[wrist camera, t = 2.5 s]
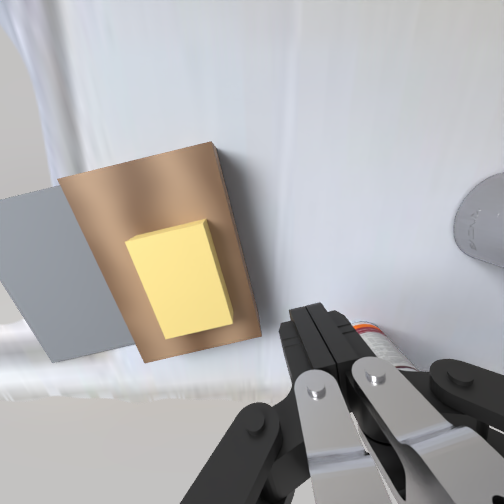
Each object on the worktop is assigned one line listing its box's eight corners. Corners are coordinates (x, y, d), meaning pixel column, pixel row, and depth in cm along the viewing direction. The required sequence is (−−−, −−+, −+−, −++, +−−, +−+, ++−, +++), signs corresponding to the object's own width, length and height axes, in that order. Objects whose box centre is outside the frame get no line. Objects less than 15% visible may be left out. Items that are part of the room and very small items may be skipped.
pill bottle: (346, 368, 30) (406, 475, 19) (323, 336, 28) (375, 434, 18) (388, 344, 29) (476, 442, 19) (368, 310, 28) (451, 395, 17)
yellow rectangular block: (206, 218, 19) (202, 223, 17) (233, 311, 22) (232, 323, 20) (135, 235, 19) (124, 242, 17) (171, 325, 22) (165, 339, 20)
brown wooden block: (216, 147, 21) (211, 141, 17) (258, 313, 27) (261, 336, 23) (89, 178, 21) (57, 178, 18) (157, 337, 27) (144, 363, 23)
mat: (84, 179, 21) (82, 179, 21) (153, 338, 27) (152, 339, 27) (-41, 210, 22) (-45, 210, 21) (54, 361, 27) (52, 362, 27)
